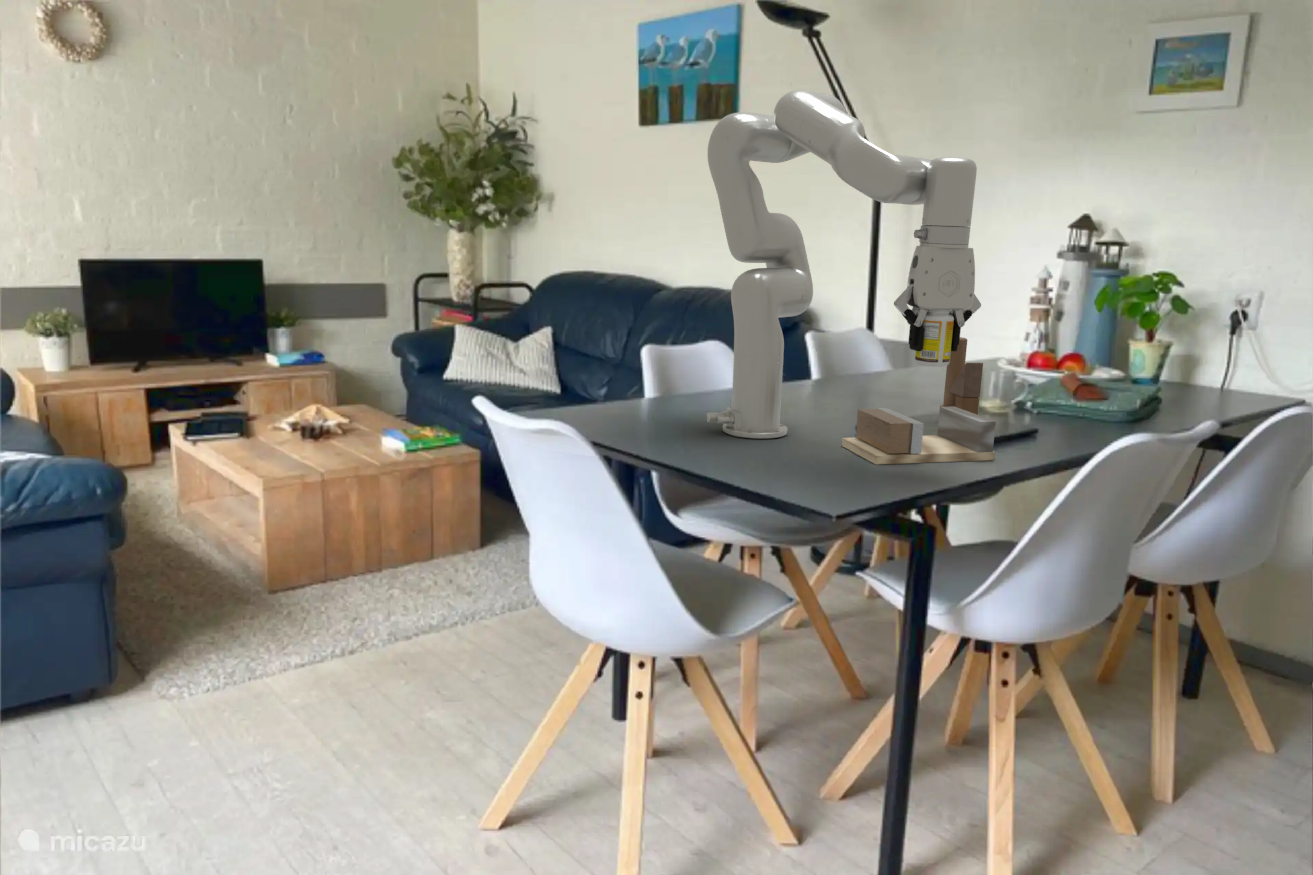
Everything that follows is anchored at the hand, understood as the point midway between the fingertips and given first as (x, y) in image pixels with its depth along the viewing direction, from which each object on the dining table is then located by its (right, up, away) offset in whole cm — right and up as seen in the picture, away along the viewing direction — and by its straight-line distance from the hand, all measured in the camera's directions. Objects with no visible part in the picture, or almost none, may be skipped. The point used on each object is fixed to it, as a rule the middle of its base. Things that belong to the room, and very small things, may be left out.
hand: (933, 349), depth 160 cm
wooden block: (+16, -13, +41) cm, 46 cm away
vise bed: (+2, -17, +17) cm, 24 cm away
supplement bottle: (0, -3, +1) cm, 3 cm away
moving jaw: (-4, -16, +15) cm, 22 cm away
